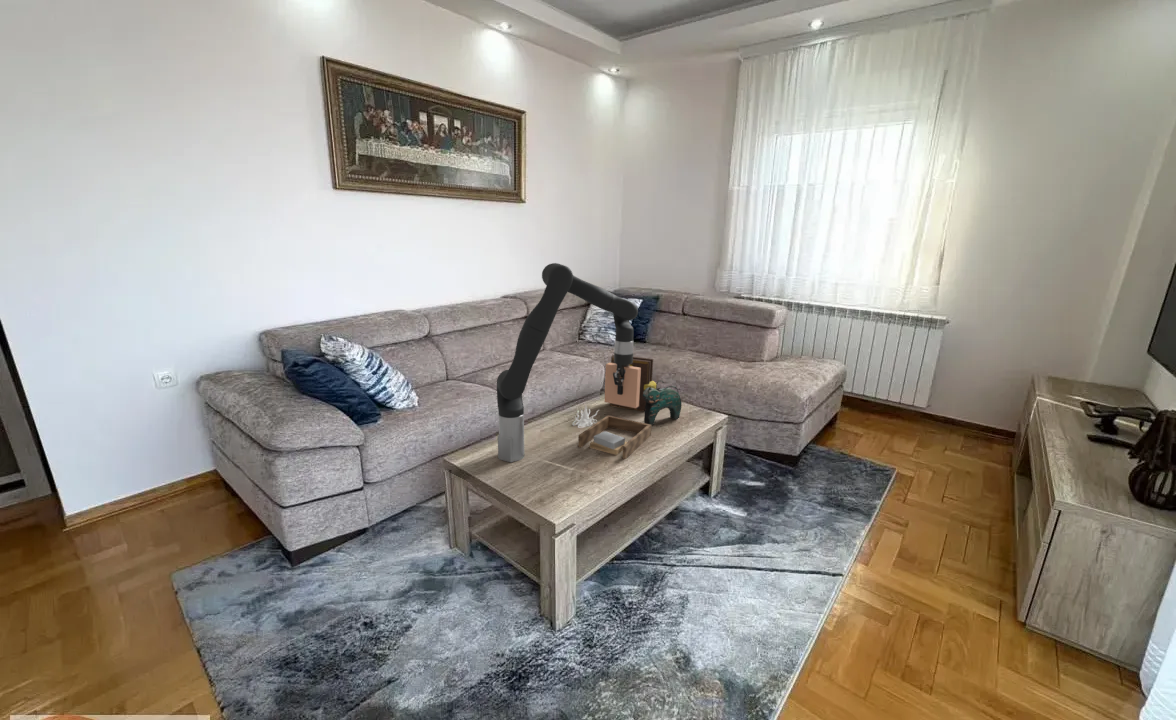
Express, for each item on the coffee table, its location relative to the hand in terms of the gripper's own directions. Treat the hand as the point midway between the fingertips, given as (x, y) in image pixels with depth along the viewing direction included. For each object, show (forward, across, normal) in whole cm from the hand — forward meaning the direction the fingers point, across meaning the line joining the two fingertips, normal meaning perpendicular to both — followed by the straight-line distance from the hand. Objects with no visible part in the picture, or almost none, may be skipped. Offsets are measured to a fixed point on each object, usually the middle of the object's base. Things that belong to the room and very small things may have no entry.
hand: (622, 392), depth 198 cm
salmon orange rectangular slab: (+5, 0, 0) cm, 5 cm away
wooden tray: (+19, -5, 0) cm, 20 cm away
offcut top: (+18, -11, 0) cm, 21 cm away
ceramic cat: (+20, +25, -8) cm, 33 cm away
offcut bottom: (+20, -11, 0) cm, 23 cm away
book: (+20, +34, +10) cm, 41 cm away
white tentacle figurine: (+20, +6, +20) cm, 28 cm away
